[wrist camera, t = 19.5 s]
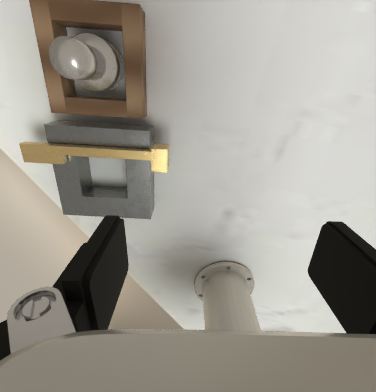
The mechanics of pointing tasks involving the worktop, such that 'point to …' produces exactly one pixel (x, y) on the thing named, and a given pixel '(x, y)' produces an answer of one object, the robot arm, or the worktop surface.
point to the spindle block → (81, 177)
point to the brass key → (94, 153)
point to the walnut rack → (102, 20)
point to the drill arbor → (87, 61)
